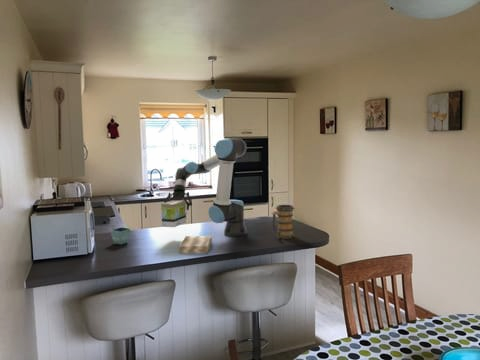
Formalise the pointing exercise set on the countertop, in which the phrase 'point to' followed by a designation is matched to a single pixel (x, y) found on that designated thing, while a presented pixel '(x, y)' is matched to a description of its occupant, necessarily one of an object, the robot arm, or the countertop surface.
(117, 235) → the flower pot
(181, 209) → the tea box
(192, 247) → the birch stand
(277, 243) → the countertop surface
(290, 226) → the mug
